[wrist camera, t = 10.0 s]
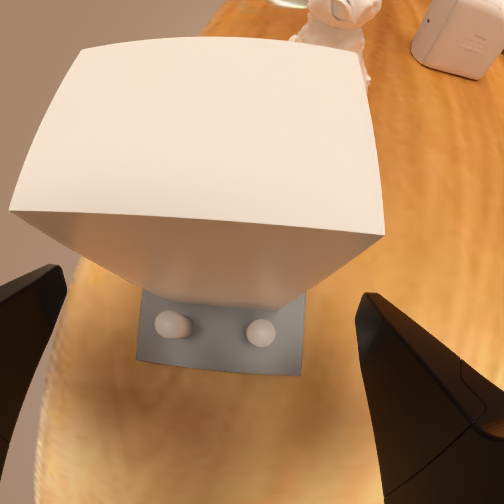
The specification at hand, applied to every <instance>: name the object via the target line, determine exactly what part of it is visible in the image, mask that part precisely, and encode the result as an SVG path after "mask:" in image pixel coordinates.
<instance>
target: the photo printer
mask: <svg viewBox="0 0 504 504" xmlns="http://www.w3.org/2000/svg"><path fill="white" fill-rule="evenodd" d="M411 46H412V48H411V53H412V55H413V57H414V58H415V59H416V60H417V61H418V62H419V63H420V64H423V65H424V66H427V67H430V68H433V69H437V70H441V71H444V72H448V73H452V74H456V75H459V76H463V77H467V78H471V79H475V80H479V79H481V78H482V77H483V76H484V74H485V73H486V72H487V71H488V69H489V68H490V67H491V65H492V64H493V63H494V61H495V60H496V59H497V57H498V56H499V55H500V53H501V52H502V51H503V49H504V0H432V1H431V3H430V5H429V8H428V10H427V12H426V14H425V16H424V18H423V20H422V22H421V24H420V26H419V28H418V30H417V32H416V34H415V36H414V38H413V40H412V43H411Z"/></svg>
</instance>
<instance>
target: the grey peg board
mask: <svg viewBox="0 0 504 504" xmlns="http://www.w3.org/2000/svg"><path fill="white" fill-rule="evenodd" d="M305 297H306V292H305V293H304V294H302V295H301V296H299V297H298V298H297V299H295V300H294V301H292V302H291V303H289V304H288V305H286V306H285V307H283V308H282V309H280V310H279V311H274V310H259V309H246V308H233V307H221V306H210V305H200V304H189V303H180V302H170V301H167V300H164V299H162V298H160V297H158V296H156V295H154V294H153V293H151V292H149V291H147V290H145V289H143V293H142V301H141V310H140V319H139V330H138V341H137V353H136V360H139V361H145V362H151V363H158V364H165V365H172V366H179V367H187V368H195V369H204V370H214V371H224V372H236V373H249V374H266V375H290V376H301V364H302V350H303V335H304V317H305Z"/></svg>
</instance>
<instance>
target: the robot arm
mask: <svg viewBox="0 0 504 504" xmlns="http://www.w3.org/2000/svg"><path fill="white" fill-rule="evenodd" d="M66 294H67V286H66V282H65V278H64V275H63V271H62V268H61V267H60V266H59V265H54V264H48V265H45V266H43V267H41V268H39V269H36V270H34V271H32V272H30V273H28V274H25V275H23V276H21V277H19V278H17V279H15V280H12V281H10V282H8V283H6V284H4V285H2V286H0V480H1V476H2V471H3V467H4V463H5V460H6V456H7V452H8V449H9V443H10V441H11V437H12V434H13V431H14V428H15V425H16V422H17V419H18V416H19V413H20V410H21V407H22V404H23V402H24V399H25V396H26V394H27V391H28V388H29V386H30V383H31V381H32V378H33V376H34V373H35V371H36V368H37V366H38V364H39V361H40V359H41V356H42V354H43V352H44V350H45V348H46V345H47V343H48V341H49V339H50V336H51V334H52V332H53V329H54V326H55V324H56V321H57V318H58V315H59V313H60V310H61V308H62V305H63V302H64V300H65V297H66ZM355 326H356V334H357V342H358V351H359V360H360V367H361V372H362V377H363V382H364V386H365V391H366V396H367V401H368V405H369V410H370V416H371V421H372V426H373V431H374V437H375V443H376V449H377V455H378V461H379V467H380V474H381V481H382V488H383V495H384V497H385V498H384V504H504V391H502V390H501V389H500V388H498V387H497V386H495V385H494V384H493V383H491V382H490V381H489V380H487V379H486V378H485V377H483V376H482V375H481V374H479V373H478V372H477V371H476V370H474V369H473V368H472V367H471V366H470V365H468V364H467V363H466V362H465V361H464V360H462V359H461V360H460V357H459V356H457V355H456V354H455V353H454V352H452V351H451V350H450V349H449V348H447V347H446V346H445V345H444V344H443V343H441V342H440V341H439V340H438V339H436V338H435V337H434V336H433V335H431V334H430V333H429V332H427V331H426V330H425V329H424V328H422V327H421V326H420V325H419V324H417V323H416V322H415V321H413V320H412V319H411V318H410V317H408V316H407V315H406V314H404V313H403V312H402V311H401V310H399V309H398V308H397V307H395V306H394V305H393V304H391V303H390V302H389V301H388V300H386V299H385V298H384V297H382V296H381V295H380V294H378V293H369V292H366V293H364V294H363V296H362V298H361V301H360V304H359V307H358V310H357V313H356V316H355Z"/></svg>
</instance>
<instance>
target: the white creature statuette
mask: <svg viewBox="0 0 504 504" xmlns="http://www.w3.org/2000/svg"><path fill="white" fill-rule="evenodd" d="M308 1H309V2H308V3H307V8H308V9H309V11H310V12H309V13H308V15H307V17H308V23H306V24H305V25H304V27H302V29H301V31H299V32H298V35H294V36H292V37H291V38H290V39H289V40H288V41H290V42H298V43H305V44H312V45H318V46H324V47H330V48H335V49H340V50H345V51H350V52H355V53H357V56H358V60H359V64H360V68H361V72H362V76H363V81H364V85H365V90H366V94H367V93H368V89H367V88H368V86H369V85H370V82H369V81H370V80H371V78H370V77H369V76H368V75H367V70H366V68H365V66H364V60H363V58H362V51H363V49H364V47H365V46H364V44H365V40H364V35H363V31H362V29H361V26H363V25H364V24H365V23H366V22H367V21H370V20H372V19H373V18H374V16H375V15H376V14H377V13H378V12H379V11H380V9H381V3H382V0H308Z"/></svg>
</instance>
